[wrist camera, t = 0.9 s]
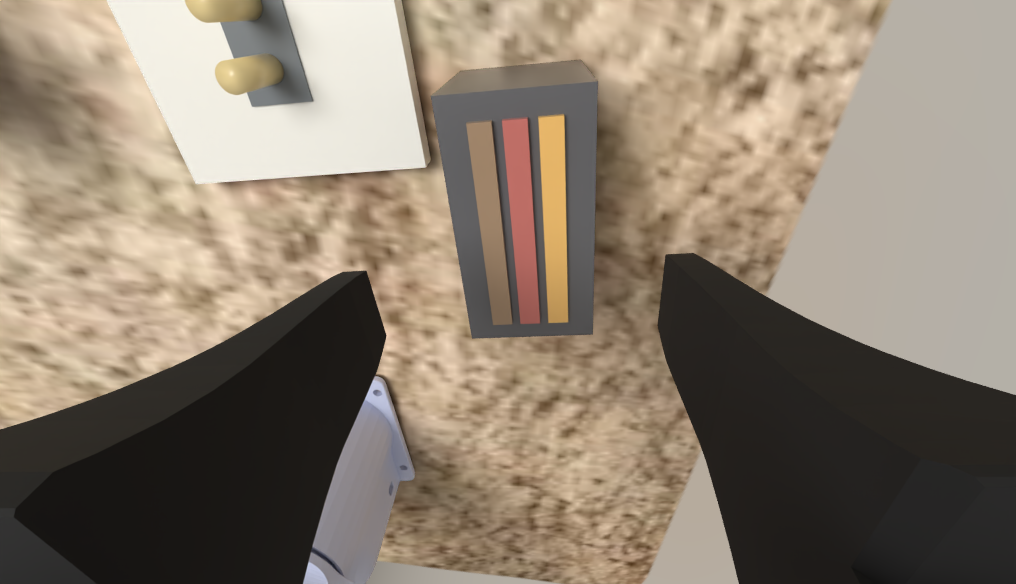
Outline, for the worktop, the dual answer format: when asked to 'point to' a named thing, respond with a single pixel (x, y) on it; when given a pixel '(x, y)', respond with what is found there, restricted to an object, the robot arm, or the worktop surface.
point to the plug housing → (522, 195)
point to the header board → (280, 84)
